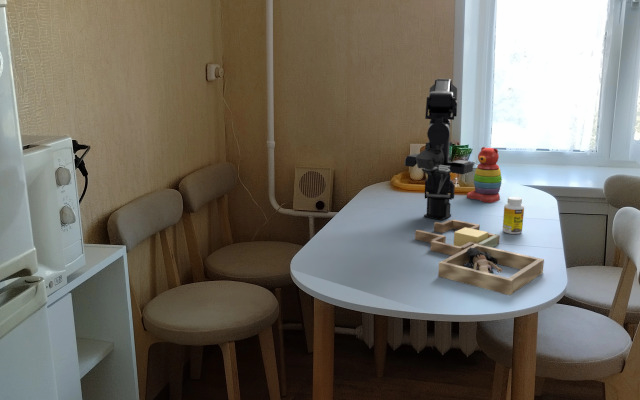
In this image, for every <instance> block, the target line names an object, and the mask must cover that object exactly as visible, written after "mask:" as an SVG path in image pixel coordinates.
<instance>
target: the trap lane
mask: <svg viewBox="0 0 640 400" xmlns="http://www.w3.org/2000/svg"><path fill="white" fill-rule="evenodd" d="M480 226H481V225H480V224H478V223H473V222H468V221H465V220H464V221H463V220H458V219H448V220H445V221H444V222H437V221H435V222H434V223H433V232H436V233H433V232H430V231H425V230H420V229H416V230H415V232H414V239H415V240H418V241H421V242H426V243H429V244H430V252H431V251H432V252H435V253H440V254H444V255H448V256H453V255H455V254H457V253H459V252H461V251H462V250H464V249H466V248H468V247H470V246H472V245H474V244H478V245H482V246H487V247H491V248H495V247H496V246H497V245H500V234H495V233H490V232H488V239H486V240H484V241H482V242H480V243H475V242H469V243H467V244H465V245H463V246H461V247H459V246H455V245H454V244H450V243H446V242H447V241H446V238H447V236H446V235H442V234H443V233H446V232H448V231H451V230H452V229H454V230H456V231H458V230H460V229H463V228H465V227H466V228H471V229H476V230H480V228H481V227H480ZM437 233H442V234H437Z"/></svg>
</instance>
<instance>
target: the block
mask: <svg viewBox="0 0 640 400" xmlns="http://www.w3.org/2000/svg"><path fill="white" fill-rule="evenodd" d="M488 233H489V232H488V231H485V230H480V229H479V230H476V229H471V228H466V227H465V228H463V229H460V230H455V231H454V233H453V245H455V246H459V247H461V246H463V245H465V244H467V243H469V242H475V243H480V242H482V241H484V240H486V239H488Z"/></svg>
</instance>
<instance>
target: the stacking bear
mask: <svg viewBox="0 0 640 400" xmlns="http://www.w3.org/2000/svg"><path fill="white" fill-rule="evenodd" d="M498 152H499V151H498V149H497V148H493V147H485V146H483V147H481V148H480V151H479V153H478V155H477V160H478V163H479V164H477V167H476V169H475V172H474V176H473V185H474V190H471V191H470V192H467V194H466V198H467V199H470V200H478V201H481V202H482V203H485V204H490V203H491V204H492V203H496V202H498V201H499V200H500V199H501V196H500V190H501V186H502V180H503V179H502V178H503V177H502V172H501V168H500V166H499V165H498V164H497V163H498V161H499V153H498Z"/></svg>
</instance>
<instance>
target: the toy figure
mask: <svg viewBox="0 0 640 400" xmlns="http://www.w3.org/2000/svg"><path fill="white" fill-rule="evenodd" d="M466 252H467V256H468V258H469V260H468V261H469V263H468V264H469V266H470V267H471V269H475V270H479V271H483V272H487V273H491V274H494V271H493V268H494V270H496V272H497V273H500V274H502V272H503V268H501V267H498V264H497V263H498V262H497V258H495V257H491V254H489V253H487V252H480V251H479V250H478V249H477V248H471V247H470V248H469V249H468V250H467V251H466Z"/></svg>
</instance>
